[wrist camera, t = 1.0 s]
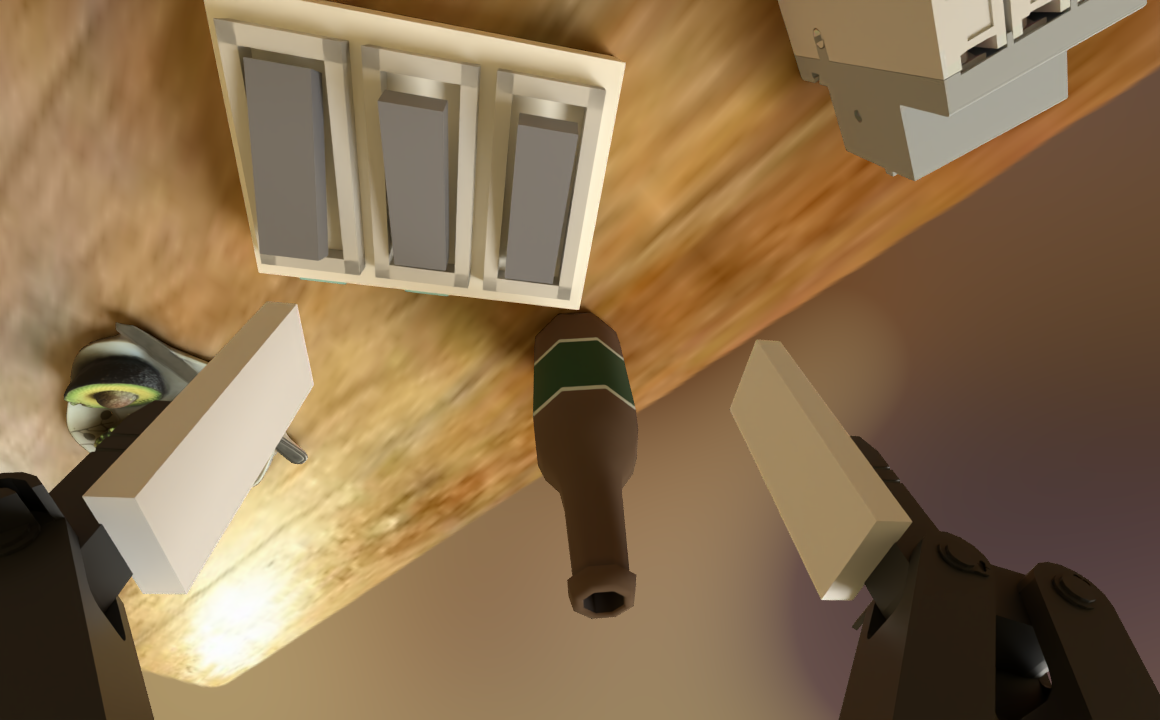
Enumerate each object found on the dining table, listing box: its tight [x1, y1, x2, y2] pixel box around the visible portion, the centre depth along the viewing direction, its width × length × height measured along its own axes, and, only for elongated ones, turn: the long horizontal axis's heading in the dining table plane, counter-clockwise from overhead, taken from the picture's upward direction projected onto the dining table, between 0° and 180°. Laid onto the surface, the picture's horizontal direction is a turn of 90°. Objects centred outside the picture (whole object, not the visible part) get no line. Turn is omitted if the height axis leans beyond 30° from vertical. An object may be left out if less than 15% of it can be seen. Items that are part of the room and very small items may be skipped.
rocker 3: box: [505, 113, 579, 284], centre depth 31 cm, size 10×3×2 cm, turn 171°
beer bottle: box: [533, 313, 638, 619], centre depth 35 cm, size 8×8×24 cm
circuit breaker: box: [778, 0, 1147, 181], centre depth 26 cm, size 8×14×15 cm, turn 32°
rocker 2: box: [377, 90, 449, 271], centre depth 29 cm, size 10×3×2 cm, turn 171°
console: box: [204, 0, 626, 310], centre depth 33 cm, size 16×22×6 cm
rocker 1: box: [243, 57, 328, 261], centre depth 28 cm, size 10×3×2 cm, turn 170°
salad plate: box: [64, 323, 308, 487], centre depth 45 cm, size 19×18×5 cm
